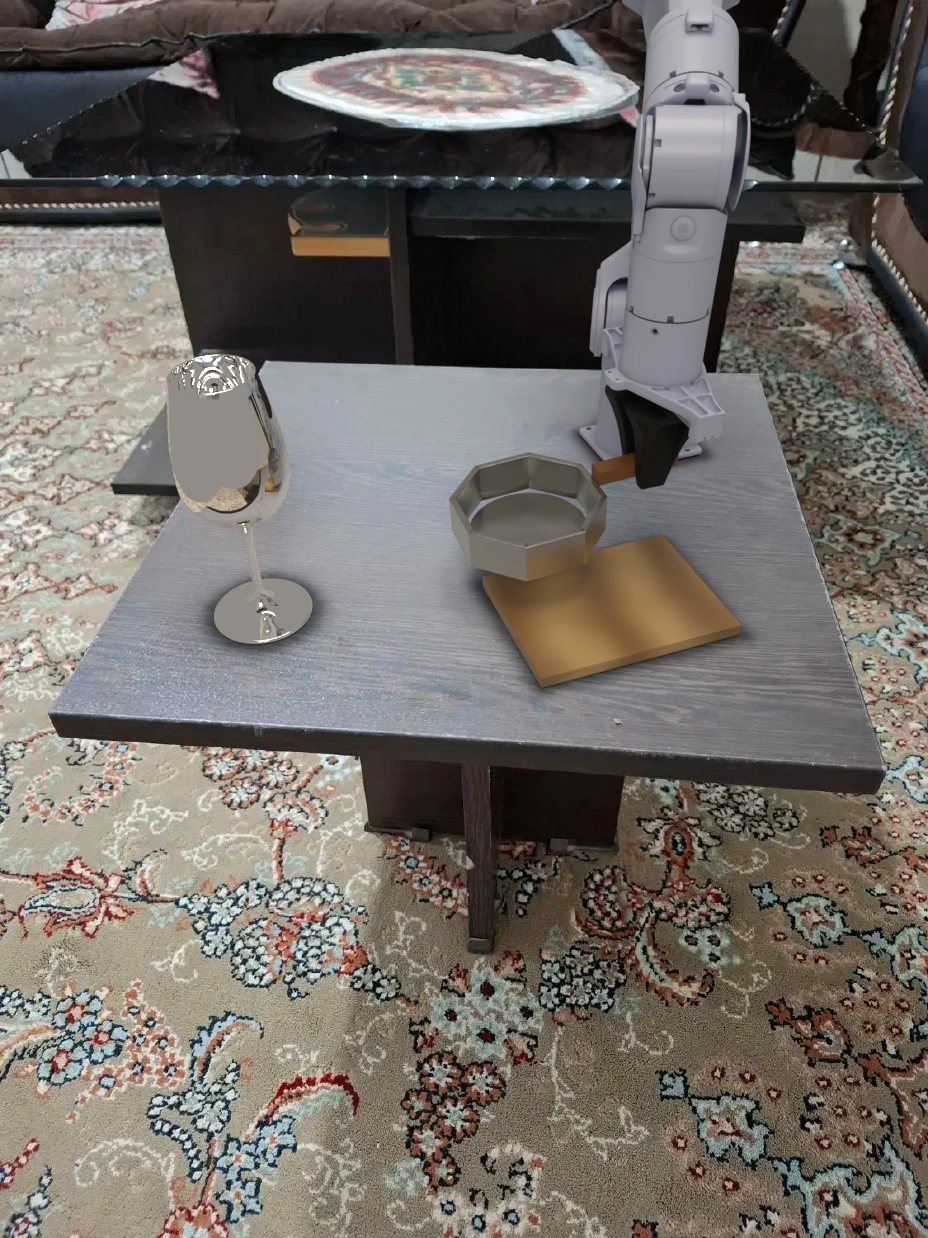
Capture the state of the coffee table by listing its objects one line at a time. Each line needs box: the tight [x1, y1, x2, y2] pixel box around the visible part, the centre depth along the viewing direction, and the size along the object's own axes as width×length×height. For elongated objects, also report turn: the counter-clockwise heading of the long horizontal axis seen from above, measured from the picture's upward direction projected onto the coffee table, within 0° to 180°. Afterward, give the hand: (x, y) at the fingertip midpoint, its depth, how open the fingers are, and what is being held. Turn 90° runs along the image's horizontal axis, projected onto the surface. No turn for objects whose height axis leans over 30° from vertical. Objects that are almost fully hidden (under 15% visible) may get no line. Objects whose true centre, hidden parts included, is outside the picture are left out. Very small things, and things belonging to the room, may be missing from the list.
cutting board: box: [482, 534, 742, 689], centre depth 69 cm, size 16×12×1 cm
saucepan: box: [448, 451, 679, 582], centre depth 68 cm, size 18×11×4 cm, turn 109°
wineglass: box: [166, 353, 314, 645], centre depth 63 cm, size 8×8×20 cm
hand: (644, 478), depth 69 cm, fingers closed on saucepan
